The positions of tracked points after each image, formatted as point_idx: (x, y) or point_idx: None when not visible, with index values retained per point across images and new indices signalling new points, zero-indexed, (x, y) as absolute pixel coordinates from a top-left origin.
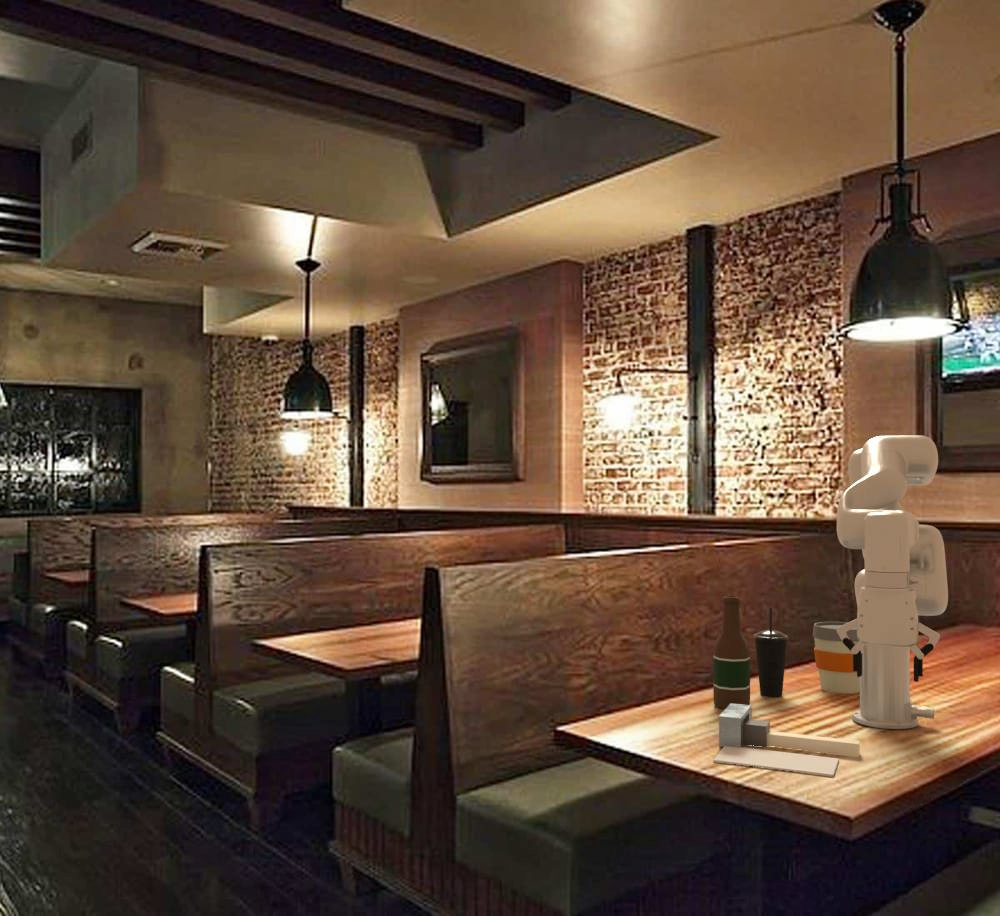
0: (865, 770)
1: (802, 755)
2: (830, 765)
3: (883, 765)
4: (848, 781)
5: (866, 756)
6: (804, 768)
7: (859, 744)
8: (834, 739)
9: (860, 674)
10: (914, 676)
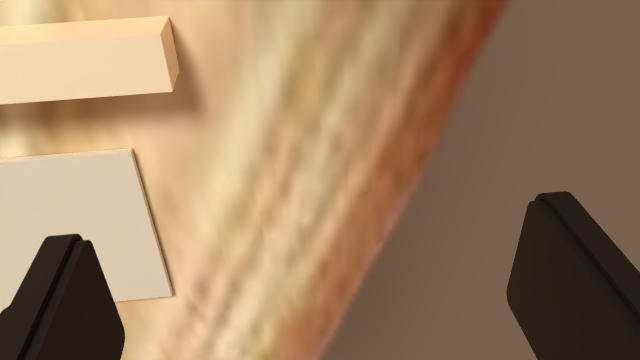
0: (237, 200)
1: (5, 176)
2: (134, 230)
3: (280, 125)
4: (218, 300)
5: (202, 40)
6: None
7: (163, 34)
8: (55, 65)
9: (117, 350)
10: (525, 323)
